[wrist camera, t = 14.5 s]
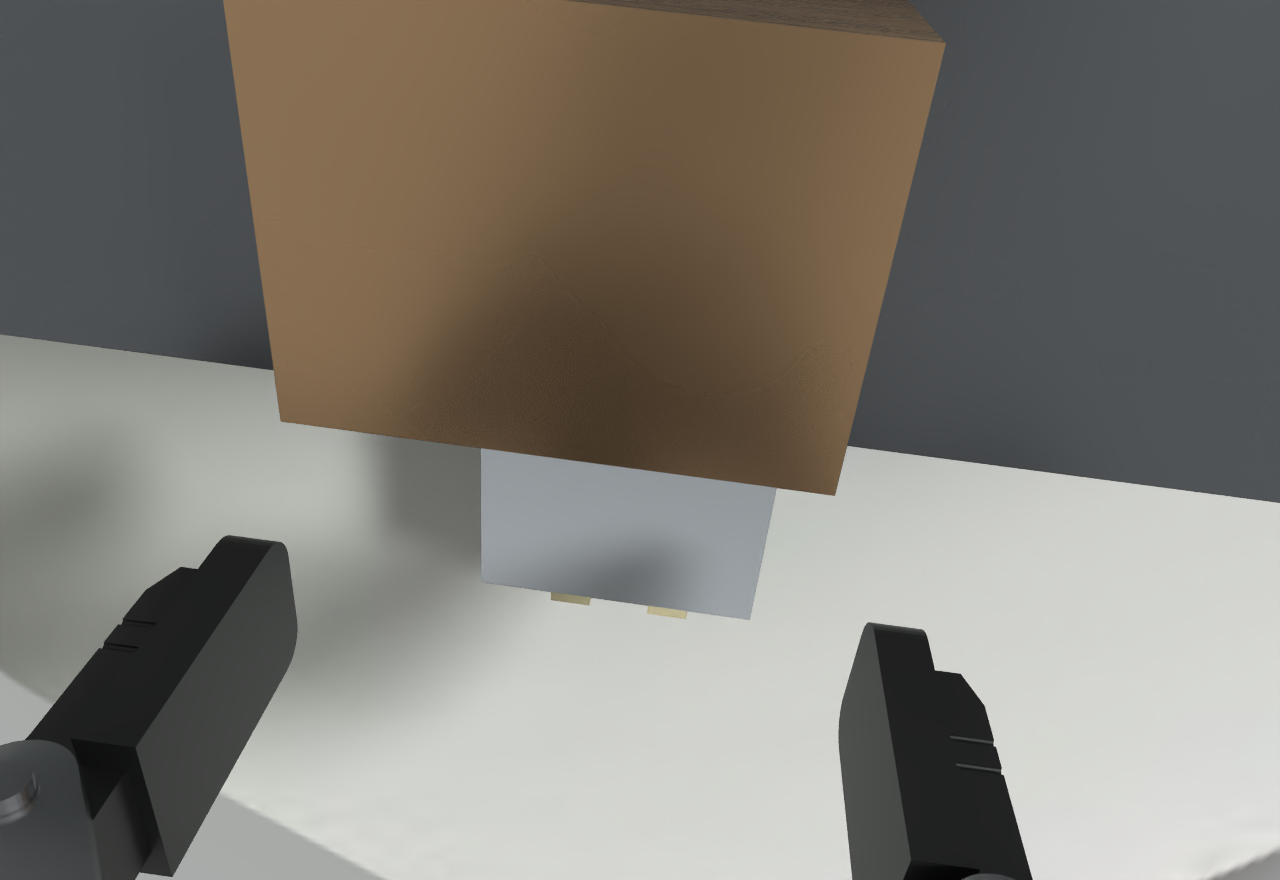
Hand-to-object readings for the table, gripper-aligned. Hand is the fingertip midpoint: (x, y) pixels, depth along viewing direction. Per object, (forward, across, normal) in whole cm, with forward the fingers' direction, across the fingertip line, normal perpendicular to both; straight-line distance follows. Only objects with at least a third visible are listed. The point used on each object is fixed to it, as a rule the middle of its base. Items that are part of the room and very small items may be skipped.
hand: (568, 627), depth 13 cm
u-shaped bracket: (+7, 0, -7) cm, 10 cm away
